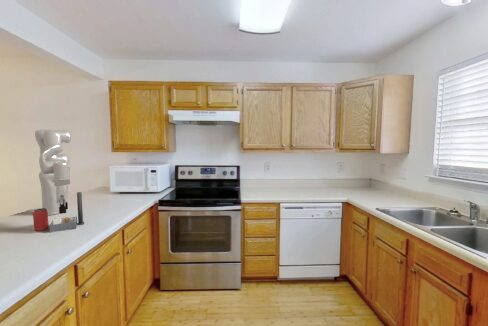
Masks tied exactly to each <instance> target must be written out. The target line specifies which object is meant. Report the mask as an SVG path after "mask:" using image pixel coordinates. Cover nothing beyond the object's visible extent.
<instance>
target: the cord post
mask: <svg viewBox="0 0 488 326" xmlns="http://www.w3.org/2000/svg"><path fill="white" fill-rule="evenodd" d="M82 195H83V194H82V191H78V192H76V203H77V204H76V205H77V226H82V225H85V221H84V216H83V215H84V214H83V196H82Z"/></svg>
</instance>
